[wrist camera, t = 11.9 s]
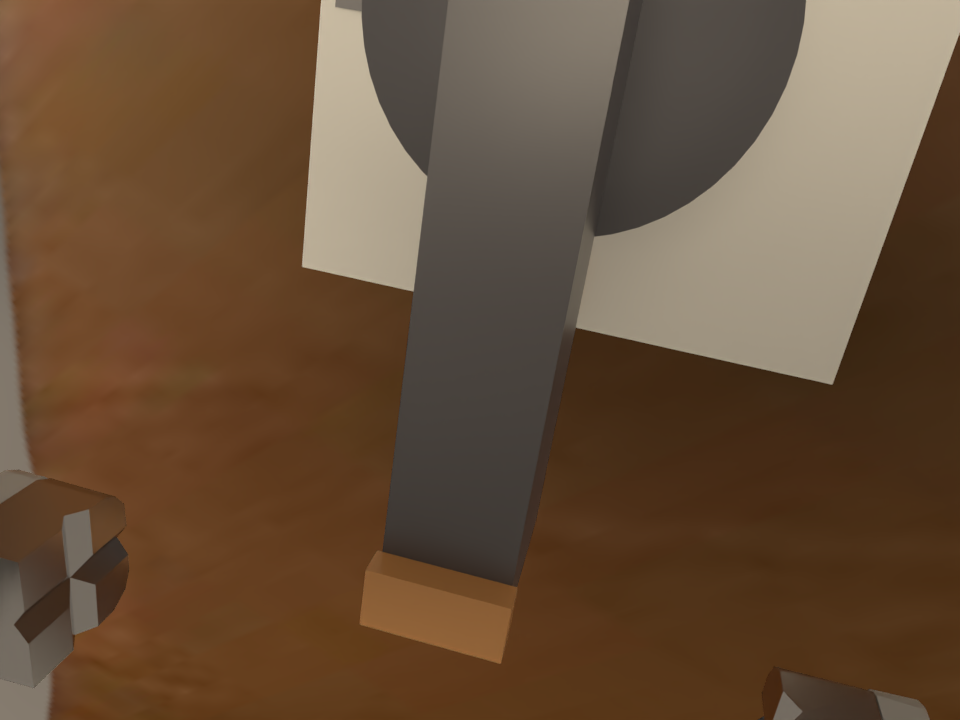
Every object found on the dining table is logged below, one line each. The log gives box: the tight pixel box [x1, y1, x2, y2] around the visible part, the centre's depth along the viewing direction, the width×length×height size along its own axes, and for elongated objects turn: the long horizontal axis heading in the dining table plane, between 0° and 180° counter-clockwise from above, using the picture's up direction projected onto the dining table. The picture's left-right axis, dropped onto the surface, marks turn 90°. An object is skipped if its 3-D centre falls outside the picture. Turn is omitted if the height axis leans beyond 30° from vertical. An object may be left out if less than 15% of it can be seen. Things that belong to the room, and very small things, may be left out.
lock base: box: [302, 0, 960, 385], centre depth 22 cm, size 20×20×12 cm
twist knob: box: [360, 0, 806, 664], centre depth 14 cm, size 14×8×7 cm, turn 171°
